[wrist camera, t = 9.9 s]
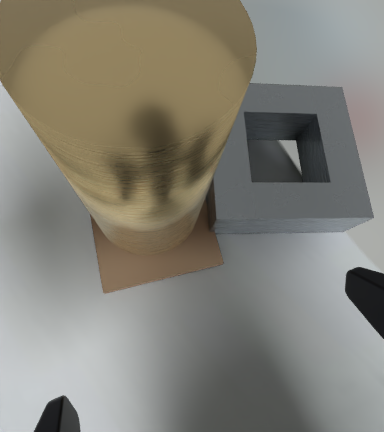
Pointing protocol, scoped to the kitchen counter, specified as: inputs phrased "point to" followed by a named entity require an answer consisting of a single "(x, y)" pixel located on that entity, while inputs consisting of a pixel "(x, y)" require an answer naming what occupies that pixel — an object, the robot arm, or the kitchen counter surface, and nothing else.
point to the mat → (156, 258)
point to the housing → (309, 161)
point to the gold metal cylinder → (131, 102)
